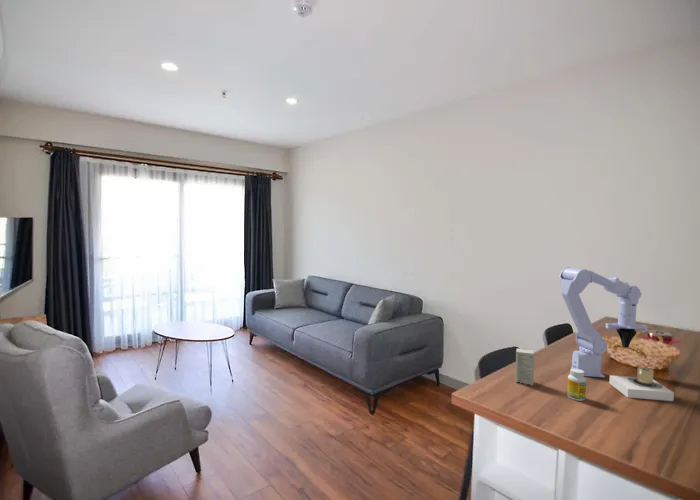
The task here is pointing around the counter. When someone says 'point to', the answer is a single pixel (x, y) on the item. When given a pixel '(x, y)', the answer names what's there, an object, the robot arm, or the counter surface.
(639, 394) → the plate
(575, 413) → the counter surface
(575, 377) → the supplement bottle
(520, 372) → the skincare box
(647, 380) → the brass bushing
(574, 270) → the robot arm
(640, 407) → the counter surface
